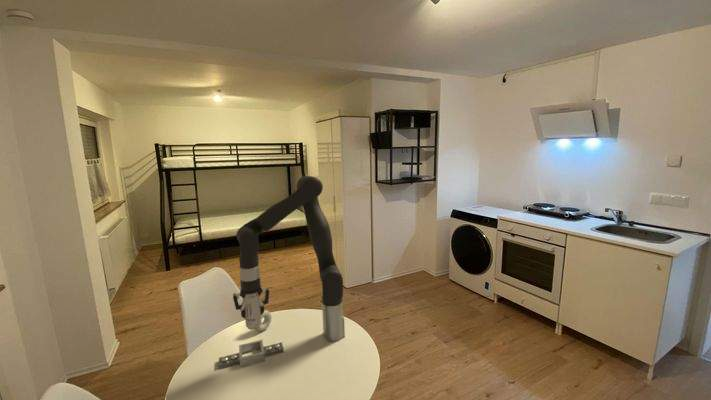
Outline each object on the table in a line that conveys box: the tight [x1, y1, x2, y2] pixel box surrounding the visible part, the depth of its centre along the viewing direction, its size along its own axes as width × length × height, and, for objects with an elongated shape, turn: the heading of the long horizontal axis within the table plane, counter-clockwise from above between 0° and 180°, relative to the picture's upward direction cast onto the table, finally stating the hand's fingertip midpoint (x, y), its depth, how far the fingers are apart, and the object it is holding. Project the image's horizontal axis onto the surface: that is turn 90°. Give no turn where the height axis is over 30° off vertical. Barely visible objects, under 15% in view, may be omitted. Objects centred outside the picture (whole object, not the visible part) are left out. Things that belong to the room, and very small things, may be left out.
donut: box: [254, 309, 272, 332], centre depth 147 cm, size 10×4×10 cm, turn 144°
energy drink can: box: [244, 292, 262, 330], centre depth 123 cm, size 6×6×15 cm
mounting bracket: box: [218, 339, 285, 370], centre depth 129 cm, size 26×10×4 cm, turn 112°
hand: (252, 315), depth 124 cm, fingers closed on energy drink can, 6 cm apart
